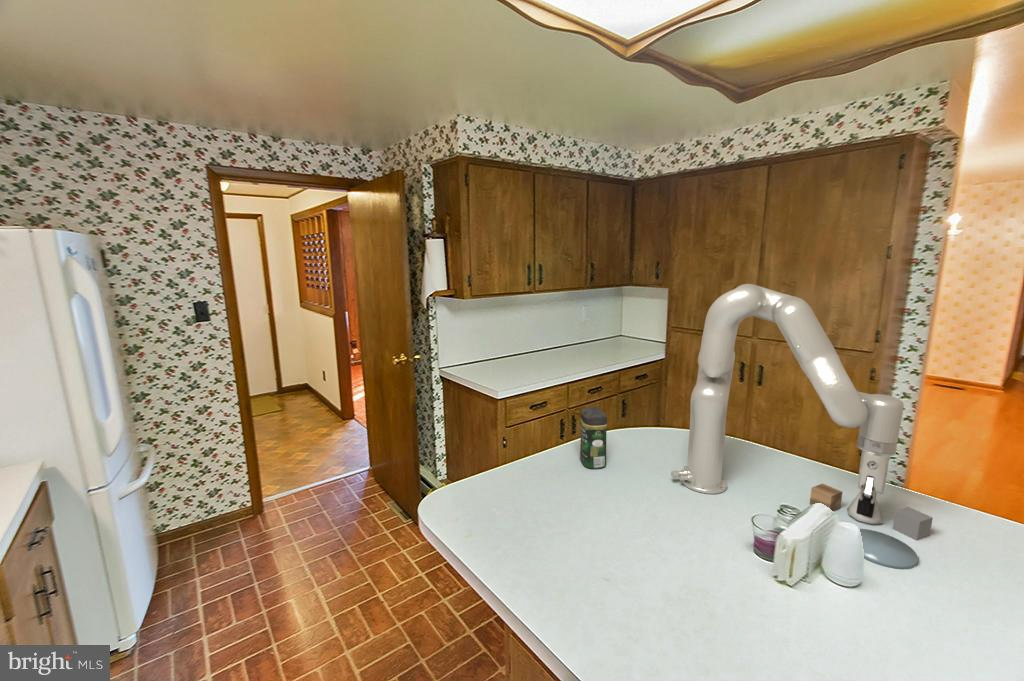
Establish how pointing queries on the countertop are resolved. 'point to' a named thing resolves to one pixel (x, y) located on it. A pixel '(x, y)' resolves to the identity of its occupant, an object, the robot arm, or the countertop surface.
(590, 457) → the coffee jar
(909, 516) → the charcoal block
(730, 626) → the countertop surface
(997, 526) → the countertop surface
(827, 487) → the walnut block
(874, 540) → the slate plate
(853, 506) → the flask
